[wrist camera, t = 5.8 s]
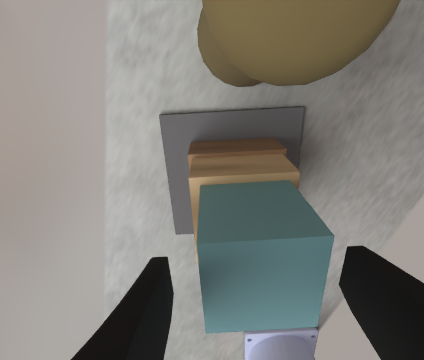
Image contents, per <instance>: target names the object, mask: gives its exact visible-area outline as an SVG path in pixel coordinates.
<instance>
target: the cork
mask: <svg viewBox="0 0 424 360" xmlns="http://www.w3.org/2000/svg"><path fill="white" fill-rule="evenodd" d="M202 2H203V9H202V11H201V14H200V19H199V24H198V29H197V31H198V47H199V50H200V52H201V55H202V58H203V61H204V63H205V64H206V66H207V67H208V68H209V70H210V71H211V72H212V74H213V75H214V76H216V77H217V78H219V79H220V80H221V81H223V82H224V83H227V84H230V85H233V86H237V87H246V86H254V85H256V84H259V83H261V82H266V83H269V84H272V85H276V86H288V85H306V84H308V83H311V82H314V81H316V80H319V79H321V78H324V77H326V76H329V75H331V74H334V73H335V72H337V71H339V70H341V69H342V68H343V67H345V66H346V65H347V64H349V63H350V62H351V61H353V60H354V59H355V58H357V57H358V56H359V55H360V54H362V53H363V52H364V51H366V50H367V49H368V48H369V47H370V45H371V44H372V43H373V42H374V40H375V39H376V38H377V37H378V35H379V34H380V33H381V32H382V30H383V29H384V28H385V27H386V25H387V24H388V23H389V22H390V20H391V18H392V16H393V14H394V12H395V10H396V8H397V6H398V4H399V2H400V0H202Z"/></svg>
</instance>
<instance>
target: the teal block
mask: <svg viewBox="0 0 424 360" xmlns="http://www.w3.org/2000/svg"><path fill="white" fill-rule="evenodd" d="M333 241H334V235H333V233H332V232H331V231H330V230H329V228H328V227H327V226H326V225H325V223H324V222H323V221H322V220H321V218H320V217H319V216H318V215H317V213H316V212H315V211H314V210H313V208H312V207H311V206H310V205H309V203H308V202H307V201H306V200H305V198H304V197H303V196H302V195H301V193H300V192H299V191H298V190H297V188H296V187H295V186H294V184H293V183H292V182H291V181H290V180H280V181H264V182H247V183H231V184H214V185H200V194H199V210H198V227H197V243H196V245H197V254H198V264H199V273H200V283H201V292H202V302H203V311H204V321H205V330H206V333H222V332H239V331H257V330H274V329H291V328H309V327H317V326H318V321H319V315H320V310H321V305H322V299H323V294H324V289H325V283H326V278H327V273H328V267H329V262H330V257H331V251H332V246H333Z"/></svg>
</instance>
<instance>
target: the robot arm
mask: <svg viewBox="0 0 424 360" xmlns="http://www.w3.org/2000/svg"><path fill="white" fill-rule="evenodd" d="M339 286H340V288H341V290H342V293H343V295H344V297H345V299H346V301H347V303H348V305H349V307H350V310H351V311H352V313H353V315H354V316H355V318H356V320H357V321H358V323H359V325H360V326H361V328H362V329H363V331H364V333H365V334H366V336H367V338H368V339H369V341H370V343H371V344H372V346H373V347H374V349H375V350H376V352H377V354H378V356H379V357H380V359H381V360H424V283H422V282H421V281H419V280H418V279H416V278H414V277H413V276H411V275H410V274H408V273H406V272H405V271H403V270H402V269H400V268H398V267H397V266H395V265H394V264H392V263H390V262H389V261H387V260H386V259H384V258H382V257H381V256H379V255H378V254H376V253H374V252H373V251H371V250H369V249H368V248H366V247H364V246H349V247H347V250H346V255H345V259H344V264H343V268H342V273H341V277H340V281H339ZM173 295H174V293H173V287H172V281H171V275H170V269H169V263H168V257H152V258H151V259H150V261H149V262H148V264H147V265H146V267H145V268H144V270H143V271H142V273H141V274H140V275H139V277H138V278H137V280H136V281H135V283H134V284H133V285H132V287H131V288H130V289H129V291H128V292H127V293H126V295H125V296H124V297H123V299H122V300H121V301H120V303H119V304H118V305H117V307H116V308H115V309H114V310H113V312H112V313H111V314H110V315H109V317H108V318H107V319H106V320H105V321H104V323H103V324H102V325H101V326H100V328H99V329H98V330H97V331H96V332H95V333H94V335H93V336H92V337H91V338H90V339H89V340H88V341H87V343H86V344H85V345H84V346H83V347H82V348H81V349H80V350H79V351H78V352H77V353H76V354H75V356H74V357H73V358H72V359H71V360H163V359H164V354H165V349H166V344H167V339H168V334H169V329H170V324H171V317H172V306H173ZM317 337H318V330H317V329H316V328H295V329H276V330H258V331H247V332H246V333H245V360H315V358H314V352H315V347H316V342H317Z"/></svg>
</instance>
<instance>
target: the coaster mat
mask: <svg viewBox="0 0 424 360" xmlns="http://www.w3.org/2000/svg"><path fill="white" fill-rule="evenodd" d="M303 115H304V107H302V106H300V107H283V108H266V109H249V110H231V111H214V112H197V113H180V114H162V115H159V119H160V126H161V133H162V140H163V147H164V154H165V161H166V168H167V175H168V183H169V190H170V197H171V204H172V211H173V218H174V225H175V232H176V234H194V227H193V217H192V207H191V197H190V187H189V164H188V151H189V147H190V143H191V142H201V141H218V140H236V139H254V138H271V137H274V138H275V139H276V140H277V141H278V142H279V143H280V144H281V145H283V146H284V147H285V148H286V149H287V151H286V158H287V159H288V160H289V161H290V162H291V163H292V164H293V165H294V166H295V167H296V168H297V169H298V165H299V155H300V145H301V135H302V125H303Z"/></svg>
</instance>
